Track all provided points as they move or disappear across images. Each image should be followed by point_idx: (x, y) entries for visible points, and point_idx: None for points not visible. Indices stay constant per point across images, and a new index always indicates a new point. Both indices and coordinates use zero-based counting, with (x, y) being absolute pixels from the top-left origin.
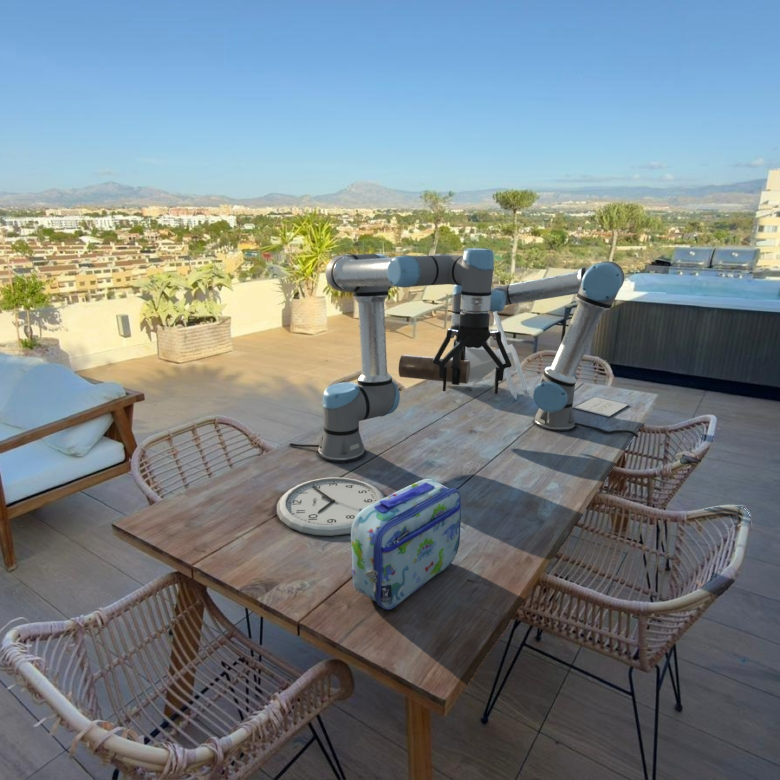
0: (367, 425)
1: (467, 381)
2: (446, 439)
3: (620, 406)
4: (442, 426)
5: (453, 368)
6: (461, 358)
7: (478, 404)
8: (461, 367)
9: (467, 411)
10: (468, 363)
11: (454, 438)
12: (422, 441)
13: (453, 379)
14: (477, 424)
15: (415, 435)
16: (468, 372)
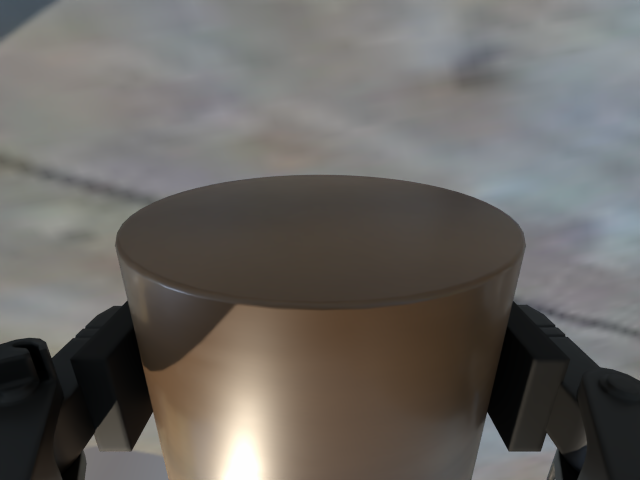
0: (485, 453)
1: (334, 179)
2: (595, 177)
3: None
4: None
5: (538, 436)
6: (58, 471)
7: (41, 105)
8: (499, 348)
9: (188, 147)
10: (383, 277)
11: (581, 145)
12: (623, 264)
13: None
14: (367, 60)
15: (560, 301)
16: (296, 205)
